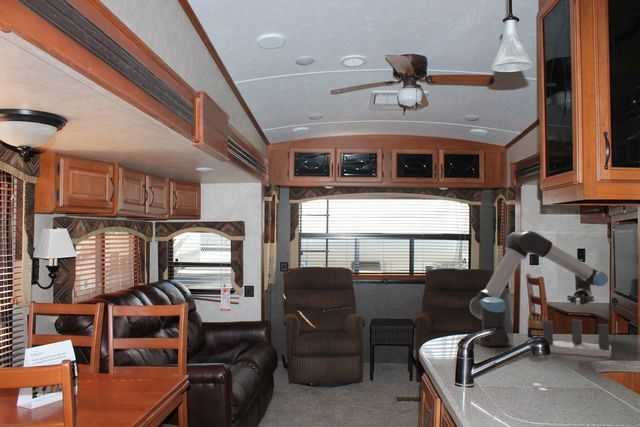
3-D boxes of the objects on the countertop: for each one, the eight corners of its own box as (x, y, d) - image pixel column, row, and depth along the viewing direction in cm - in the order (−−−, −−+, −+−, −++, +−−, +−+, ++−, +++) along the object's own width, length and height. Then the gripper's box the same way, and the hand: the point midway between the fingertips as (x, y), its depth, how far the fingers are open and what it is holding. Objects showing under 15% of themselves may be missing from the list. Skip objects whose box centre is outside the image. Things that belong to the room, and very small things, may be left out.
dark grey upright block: (581, 343, 261) (580, 320, 261) (572, 342, 263) (571, 320, 263) (582, 342, 263) (581, 319, 263) (573, 341, 265) (572, 319, 265)
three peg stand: (610, 357, 246) (609, 325, 247) (542, 351, 261) (541, 321, 261) (611, 351, 257) (610, 321, 258) (546, 346, 272) (545, 317, 272)
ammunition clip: (527, 336, 295) (526, 314, 296) (528, 336, 297) (527, 314, 297) (548, 338, 290) (547, 316, 290) (549, 338, 291) (548, 315, 292)
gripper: (595, 304, 286) (592, 310, 265) (568, 303, 292) (563, 309, 272) (595, 289, 286) (591, 295, 265) (568, 289, 292) (563, 294, 272)
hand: (577, 302), depth 269 cm, fingers closed
